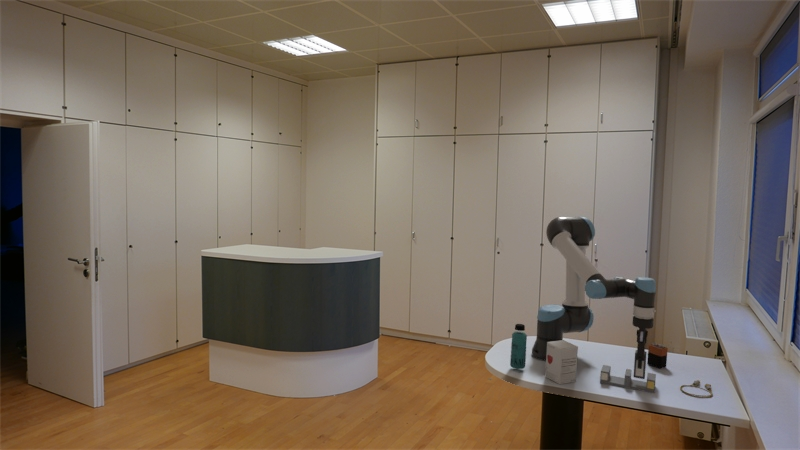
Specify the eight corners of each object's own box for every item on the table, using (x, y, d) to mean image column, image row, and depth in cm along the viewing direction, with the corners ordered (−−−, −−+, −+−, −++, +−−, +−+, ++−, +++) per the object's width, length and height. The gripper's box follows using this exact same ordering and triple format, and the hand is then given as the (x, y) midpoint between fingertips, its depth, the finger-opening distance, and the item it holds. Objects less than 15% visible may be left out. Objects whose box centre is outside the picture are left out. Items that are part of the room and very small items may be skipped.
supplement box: (544, 376, 220) (546, 341, 218) (561, 373, 224) (563, 339, 222) (559, 384, 212) (561, 348, 210) (576, 381, 215) (578, 346, 214)
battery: (660, 369, 232) (661, 346, 231) (646, 364, 238) (648, 342, 237) (666, 367, 234) (668, 345, 233) (653, 362, 240) (654, 341, 239)
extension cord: (726, 395, 207) (727, 390, 207) (698, 400, 201) (698, 395, 201) (698, 383, 218) (699, 378, 218) (670, 388, 212) (671, 383, 212)
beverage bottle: (513, 366, 231) (515, 321, 229) (527, 369, 227) (530, 324, 225) (507, 370, 226) (509, 324, 224) (521, 374, 222) (524, 327, 220)
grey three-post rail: (600, 382, 215) (600, 371, 214) (602, 376, 222) (603, 364, 221) (654, 393, 205) (655, 380, 205) (655, 386, 213) (655, 374, 212)
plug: (633, 377, 211) (635, 351, 210) (634, 374, 214) (635, 348, 213) (644, 379, 209) (646, 353, 208) (644, 375, 212) (646, 350, 211)
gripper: (653, 323, 200) (649, 382, 202) (654, 313, 215) (650, 369, 217) (631, 320, 203) (627, 379, 205) (634, 310, 219) (630, 365, 221)
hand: (639, 373), depth 211 cm, fingers closed on plug, 4 cm apart
